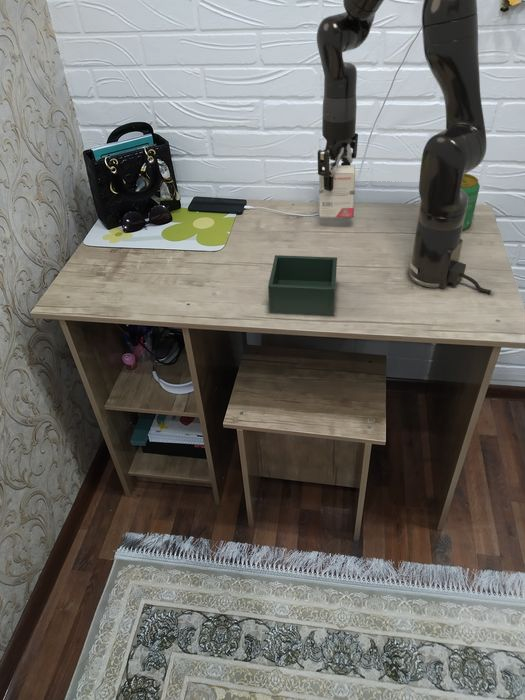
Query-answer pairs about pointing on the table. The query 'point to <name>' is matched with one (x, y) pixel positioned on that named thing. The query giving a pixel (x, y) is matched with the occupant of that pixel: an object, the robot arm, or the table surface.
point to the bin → (302, 285)
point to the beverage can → (470, 197)
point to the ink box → (338, 193)
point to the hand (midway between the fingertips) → (337, 183)
